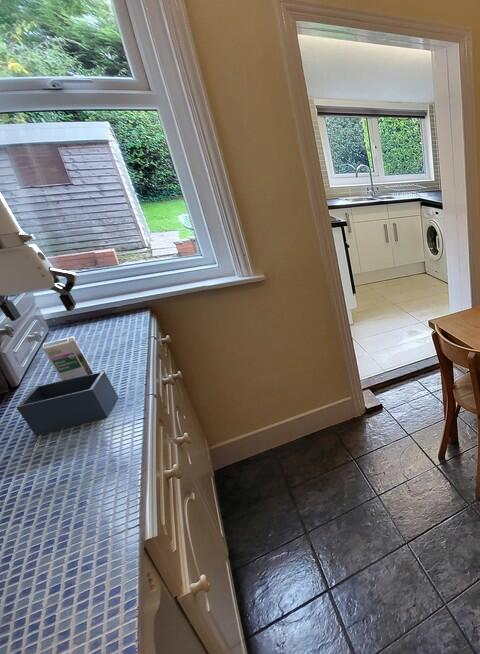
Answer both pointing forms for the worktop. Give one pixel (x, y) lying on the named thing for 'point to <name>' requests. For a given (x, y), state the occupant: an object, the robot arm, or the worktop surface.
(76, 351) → the syrup box
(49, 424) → the tub
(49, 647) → the worktop surface
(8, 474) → the worktop surface
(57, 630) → the worktop surface
